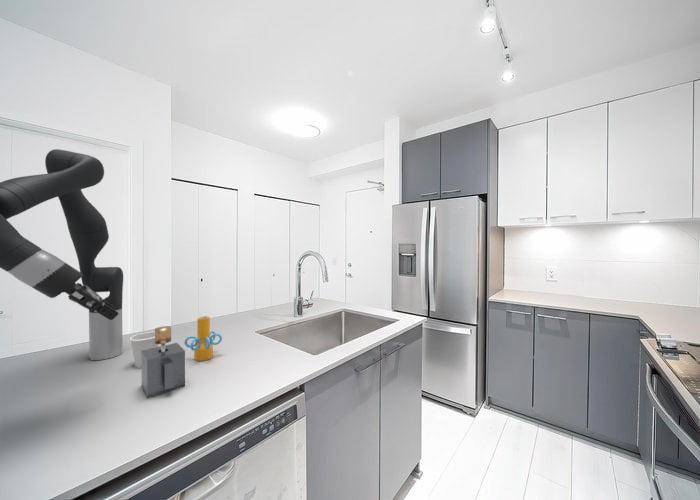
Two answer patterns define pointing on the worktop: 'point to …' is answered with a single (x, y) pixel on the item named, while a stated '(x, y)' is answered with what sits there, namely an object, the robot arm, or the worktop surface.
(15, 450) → the worktop surface
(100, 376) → the worktop surface
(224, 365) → the worktop surface
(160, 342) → the plunger
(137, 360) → the dixie cup
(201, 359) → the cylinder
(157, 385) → the frame
